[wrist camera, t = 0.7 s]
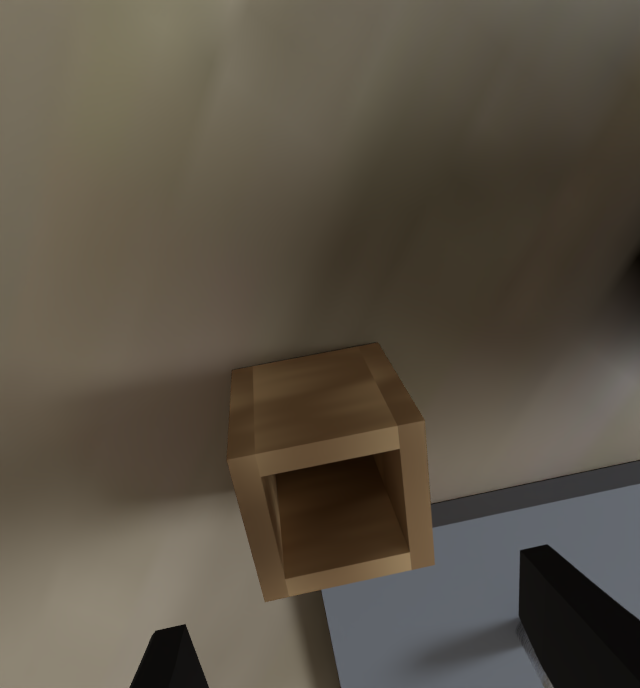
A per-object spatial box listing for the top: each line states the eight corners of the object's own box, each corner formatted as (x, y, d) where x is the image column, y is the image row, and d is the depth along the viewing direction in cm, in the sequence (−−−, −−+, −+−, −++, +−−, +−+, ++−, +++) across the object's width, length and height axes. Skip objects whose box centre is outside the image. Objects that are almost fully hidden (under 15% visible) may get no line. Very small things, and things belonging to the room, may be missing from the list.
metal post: (545, 583, 23) (637, 724, 18) (544, 613, 24) (631, 757, 19) (503, 592, 23) (582, 738, 18) (503, 623, 24) (579, 770, 18)
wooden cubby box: (377, 342, 17) (424, 420, 13) (390, 461, 19) (435, 564, 15) (231, 370, 17) (226, 459, 12) (260, 487, 19) (264, 602, 14)
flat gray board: (643, 459, 21) (665, 478, 20) (616, 650, 26) (632, 673, 25) (310, 530, 20) (313, 553, 19) (347, 713, 25) (351, 740, 24)
